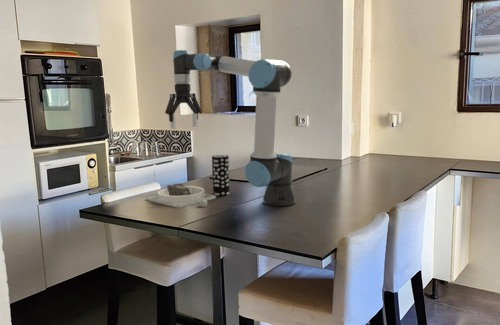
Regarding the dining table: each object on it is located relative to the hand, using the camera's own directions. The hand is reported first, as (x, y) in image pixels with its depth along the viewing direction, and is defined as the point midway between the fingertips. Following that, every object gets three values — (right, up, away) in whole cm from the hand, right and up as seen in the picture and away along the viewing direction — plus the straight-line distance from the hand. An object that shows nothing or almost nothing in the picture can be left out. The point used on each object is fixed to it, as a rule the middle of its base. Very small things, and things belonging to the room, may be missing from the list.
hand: (184, 127), depth 224 cm
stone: (-2, -34, -1) cm, 34 cm away
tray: (-1, -35, -1) cm, 35 cm away
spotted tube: (+18, -34, +7) cm, 39 cm away
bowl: (-1, -35, -1) cm, 35 cm away
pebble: (+10, -34, -15) cm, 39 cm away
